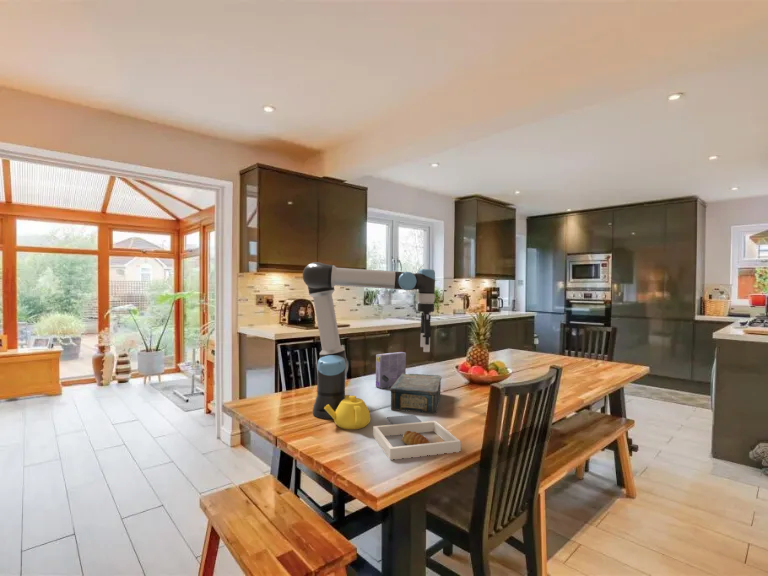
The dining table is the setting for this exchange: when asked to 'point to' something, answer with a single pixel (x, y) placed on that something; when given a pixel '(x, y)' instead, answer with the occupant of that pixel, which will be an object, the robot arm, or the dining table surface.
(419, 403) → the metal box
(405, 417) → the mat
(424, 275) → the robot arm
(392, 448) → the white shallow tray
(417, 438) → the pastry
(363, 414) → the teapot
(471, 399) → the dining table surface
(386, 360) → the cake pan box
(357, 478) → the dining table surface
